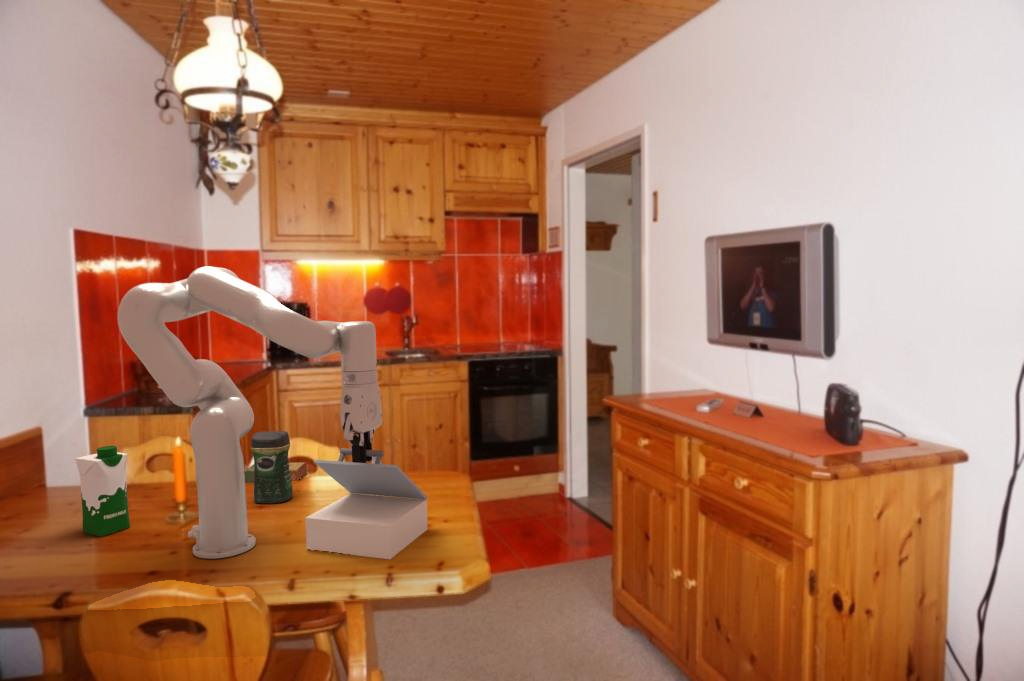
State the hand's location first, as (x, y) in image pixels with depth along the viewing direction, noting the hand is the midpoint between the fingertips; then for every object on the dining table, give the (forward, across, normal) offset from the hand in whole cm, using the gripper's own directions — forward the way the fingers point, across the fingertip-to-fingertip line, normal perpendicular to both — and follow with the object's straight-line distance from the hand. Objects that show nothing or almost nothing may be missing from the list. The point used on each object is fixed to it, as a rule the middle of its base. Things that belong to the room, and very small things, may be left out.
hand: (362, 461), depth 147 cm
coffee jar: (+18, +20, +40) cm, 49 cm away
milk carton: (+18, -11, +64) cm, 67 cm away
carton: (+19, +38, +54) cm, 68 cm away
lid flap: (+5, +4, 0) cm, 7 cm away
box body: (+18, +2, 0) cm, 18 cm away
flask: (+18, +35, +18) cm, 44 cm away
